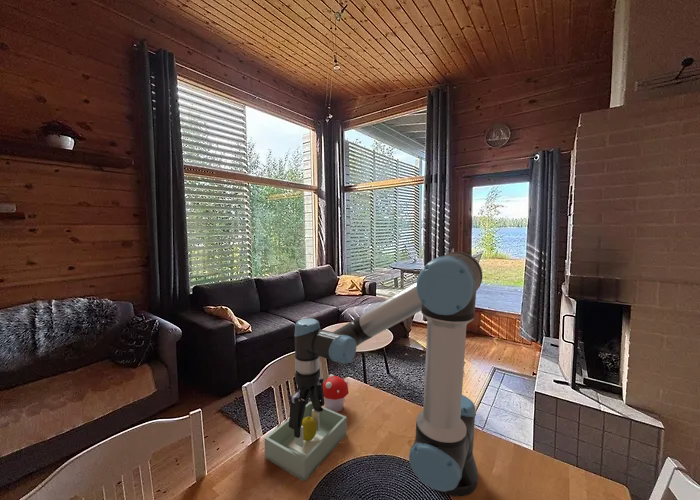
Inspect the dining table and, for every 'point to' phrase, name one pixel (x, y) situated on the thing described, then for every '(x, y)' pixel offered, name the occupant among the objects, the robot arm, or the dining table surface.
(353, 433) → the dining table surface
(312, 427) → the lemon
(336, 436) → the crate
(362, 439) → the dining table surface
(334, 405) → the mushroom
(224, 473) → the dining table surface
